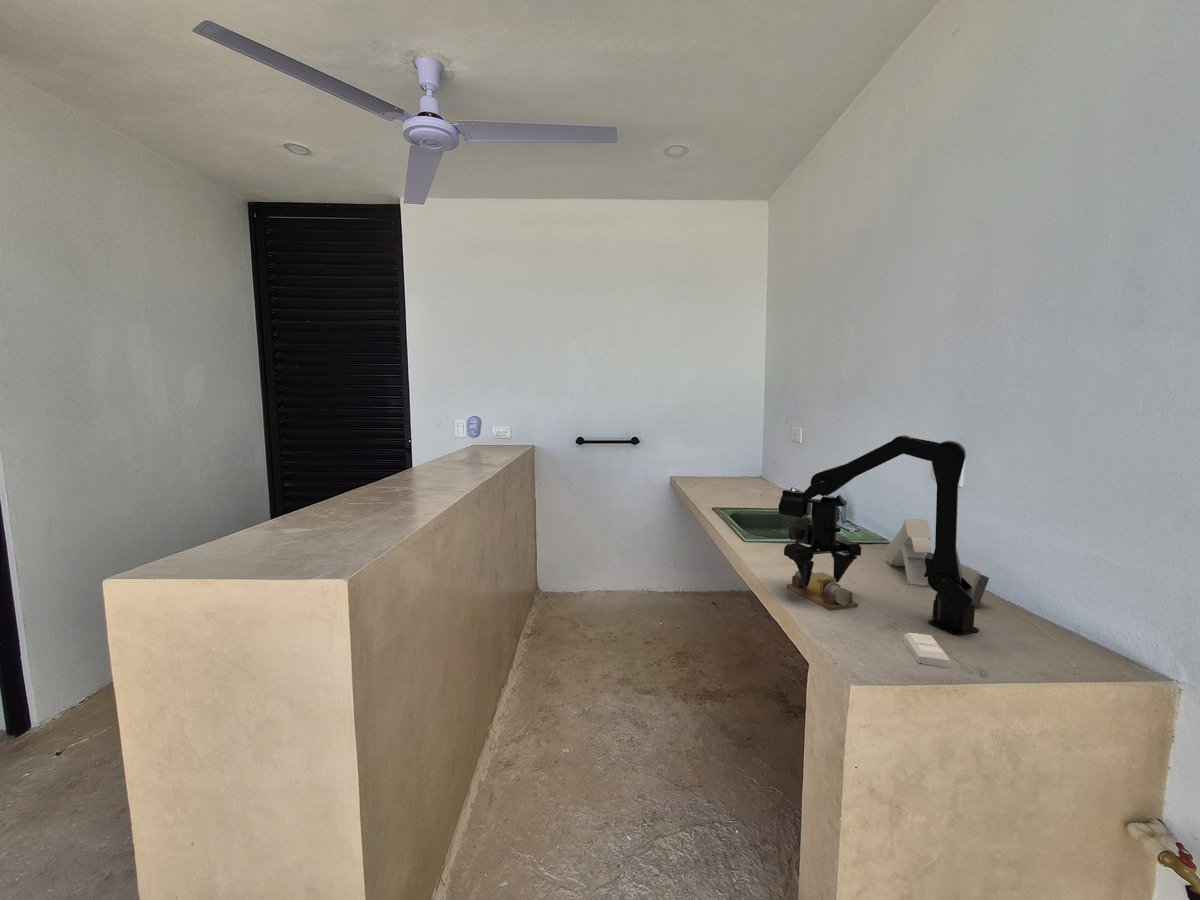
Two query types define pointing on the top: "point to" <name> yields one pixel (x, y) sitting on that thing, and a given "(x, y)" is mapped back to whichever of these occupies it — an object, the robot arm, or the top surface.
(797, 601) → the top surface
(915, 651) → the soap bar
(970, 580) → the electrical switch
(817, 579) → the yellow hollow block
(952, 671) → the top surface
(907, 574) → the beige angular piece
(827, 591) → the pipe cradle
